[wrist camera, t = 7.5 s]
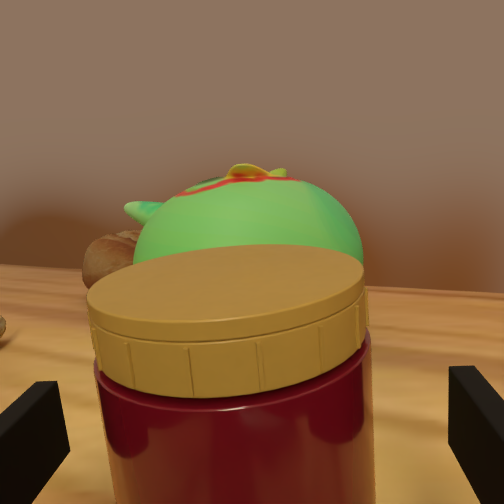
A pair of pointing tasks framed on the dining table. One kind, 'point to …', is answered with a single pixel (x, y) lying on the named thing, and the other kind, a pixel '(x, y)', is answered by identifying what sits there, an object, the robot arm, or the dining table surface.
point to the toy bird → (244, 216)
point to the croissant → (2, 326)
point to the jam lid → (228, 319)
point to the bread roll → (109, 255)
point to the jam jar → (245, 442)
